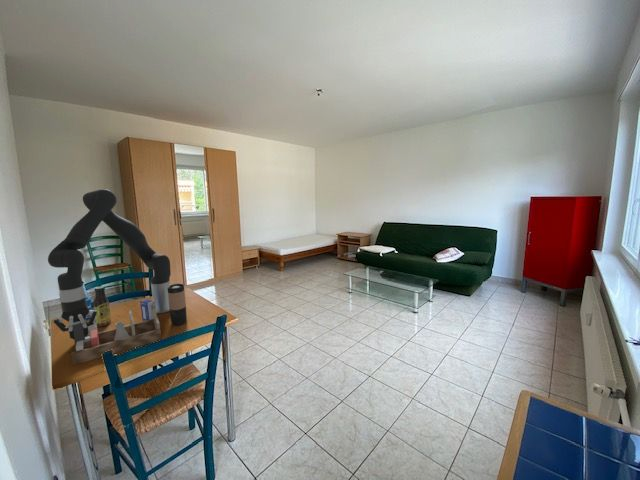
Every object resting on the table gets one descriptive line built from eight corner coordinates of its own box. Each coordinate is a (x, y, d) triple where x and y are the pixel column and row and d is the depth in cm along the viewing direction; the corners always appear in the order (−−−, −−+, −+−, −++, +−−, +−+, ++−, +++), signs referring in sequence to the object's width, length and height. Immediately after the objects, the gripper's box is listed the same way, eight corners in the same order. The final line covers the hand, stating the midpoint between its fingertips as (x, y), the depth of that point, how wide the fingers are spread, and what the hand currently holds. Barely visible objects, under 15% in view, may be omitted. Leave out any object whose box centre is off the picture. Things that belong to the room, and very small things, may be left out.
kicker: (99, 341, 121) (95, 314, 119) (99, 356, 111) (94, 326, 108) (79, 347, 117) (74, 318, 114) (76, 362, 106) (71, 331, 104)
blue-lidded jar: (73, 341, 123) (66, 300, 119) (97, 333, 129) (91, 294, 125) (76, 348, 117) (69, 305, 114) (101, 340, 123) (94, 299, 120)
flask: (119, 339, 124) (116, 319, 122) (135, 339, 125) (132, 319, 123) (108, 348, 117) (105, 327, 115) (125, 347, 117) (122, 327, 116)
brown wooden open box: (157, 327, 135) (154, 305, 133) (161, 339, 124) (158, 315, 122) (76, 349, 116) (71, 323, 114) (73, 365, 106) (68, 337, 103)
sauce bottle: (102, 327, 135) (97, 290, 131) (92, 326, 136) (86, 289, 132) (115, 321, 141) (109, 285, 137) (105, 320, 142) (99, 285, 139)
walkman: (142, 321, 141) (139, 300, 139) (147, 319, 143) (145, 298, 141) (152, 324, 138) (149, 302, 136) (157, 322, 140) (155, 300, 138)
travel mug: (189, 322, 141) (186, 286, 137) (174, 327, 135) (170, 290, 132) (184, 317, 146) (180, 282, 142) (168, 322, 140) (165, 286, 137)
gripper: (95, 291, 115) (101, 328, 118) (50, 299, 107) (57, 338, 110) (95, 296, 109) (101, 335, 112) (47, 305, 101) (55, 347, 104)
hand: (79, 336), depth 111 cm, fingers closed on kicker, 3 cm apart
